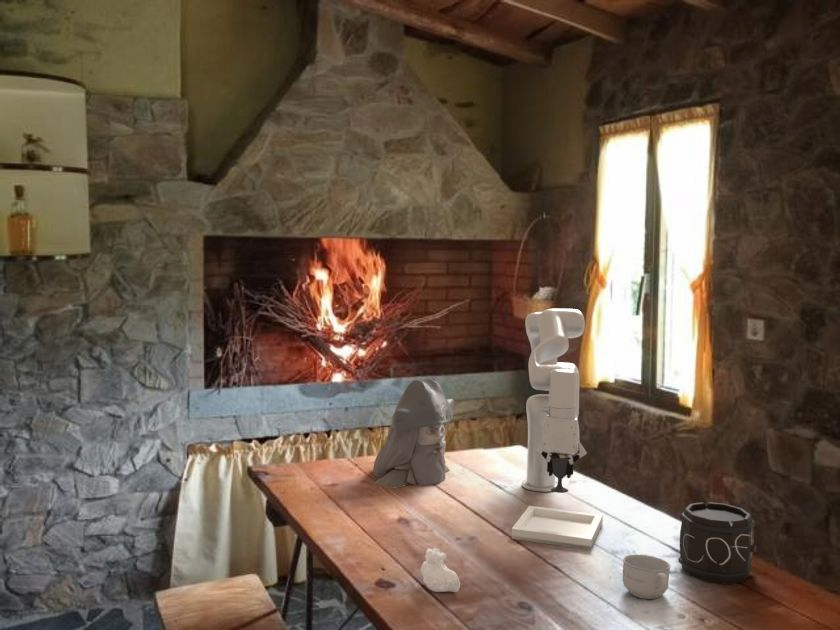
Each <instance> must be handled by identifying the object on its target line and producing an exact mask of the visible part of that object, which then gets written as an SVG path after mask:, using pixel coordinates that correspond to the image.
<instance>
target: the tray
mask: <svg viewBox="0 0 840 630" xmlns="http://www.w3.org/2000/svg"><path fill="white" fill-rule="evenodd" d="M603 516H604V514H597V513H590V512H582V511H574V510H568V509H566V510H565V509H561V508H559V509H558V508H551V507H542V506H536V505H528V507H527V508H526V509H525V511H524V512H523V513H522V514H521V516H520V517H519V518H518V520H517V521H516V523H515V524H514V525H513V527H512V528H511V540H516V541H522V542H523V541H524V542H532V543H539V544H544V543H545V545H546V544H547V545H553V546H559V547H568V548H573V549H579V550H585V551H586V550H588V551H592V549H593V547H594V544H595V542H596V540H597V538H598V535H599V533H600V531H601V529H602V527H603V521H604V519H603V518H604V517H603Z"/></svg>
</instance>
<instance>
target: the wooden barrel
mask: <svg viewBox="0 0 840 630" xmlns="http://www.w3.org/2000/svg"><path fill="white" fill-rule="evenodd" d="M679 518H680V519H681V524H680V532H679V556H678V563H679V564H680V565H681V568H682V570H683V571H684V572H685V573H686V574H687V575H688V576H689V577H691V578H694V579H698V580H700V581H703V582H706V583H710V584H720V585H728V586H729V585H732V584H733V585H734V584H738V583H744V582H745V581H746V579H747V578H748V577H749V575H750V573H751V572H752V570H753V569H754V566H753V564H752V561H753V556H754V553H756V552H757V548H758V547H757V546H758V545H755V536H754V535H755V533H754V528H755V525H756V523H755V520H754V519H753V518H752V515H751V514H750V513H749V512H748V511H747V510H745V509H743V507H738V506H735V505H730V504H727V503H722V502H721V503H719V502H709V501H708V502H707V503H704V502H695V503H690V504H689V505H687V506H686V508H685V509H684V511H683V512H682V513H681V515H680V517H679Z"/></svg>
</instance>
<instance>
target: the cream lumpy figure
mask: <svg viewBox="0 0 840 630" xmlns="http://www.w3.org/2000/svg"><path fill="white" fill-rule="evenodd" d="M424 557H425V561H423V562H422V564H421V566H420V569H419V571H421V572H420V573H421V574H422V578H423V581H422V582H423V583H424V584H425V586H426V587H427V589H428V590H431V591H432V592H435V593H442V592H450V593H451V592H452V593H457V592H458V591H459V590H460V587H461V580H460V578H459V577H458V574H457V573H456V572H455V571H453V570H452V569H450V568H448V566H447V565H446V564H445V563H444V561H445V559H446V558H447V554H446V553H445V552H443V551H442V552H440V549H439V548H435V547H433V548H430V547H428V548H427V549H426V551H425V555H424Z"/></svg>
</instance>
